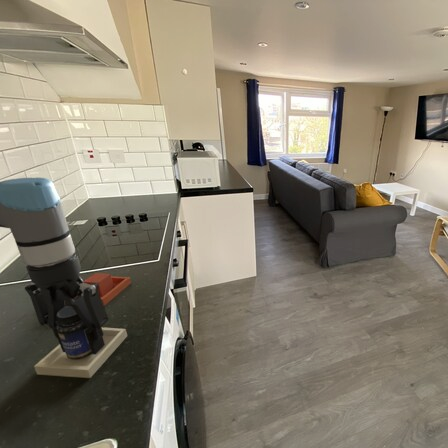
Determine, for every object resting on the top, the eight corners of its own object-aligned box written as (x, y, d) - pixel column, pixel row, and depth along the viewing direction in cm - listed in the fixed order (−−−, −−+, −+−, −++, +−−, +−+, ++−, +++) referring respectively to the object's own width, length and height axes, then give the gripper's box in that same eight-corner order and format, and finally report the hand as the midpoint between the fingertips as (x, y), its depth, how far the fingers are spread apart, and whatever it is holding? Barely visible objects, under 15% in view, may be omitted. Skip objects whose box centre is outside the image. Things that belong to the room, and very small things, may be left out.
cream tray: (37, 374, 55) (33, 366, 54) (82, 333, 66) (80, 326, 65) (90, 378, 54) (87, 370, 53) (127, 336, 65) (125, 328, 64)
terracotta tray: (66, 303, 76) (63, 297, 75) (97, 281, 87) (95, 275, 86) (104, 306, 75) (102, 299, 75) (130, 283, 86) (129, 277, 85)
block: (86, 296, 79) (81, 281, 77) (99, 286, 83) (95, 272, 81) (102, 296, 78) (98, 282, 77) (114, 287, 83) (110, 273, 81)
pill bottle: (59, 361, 56) (43, 320, 53) (80, 339, 62) (67, 301, 58) (89, 360, 57) (74, 320, 53) (107, 339, 62) (95, 301, 58)
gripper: (112, 251, 54) (135, 338, 62) (25, 247, 55) (59, 333, 63) (83, 270, 47) (113, 365, 55) (-17, 265, 48) (27, 359, 56)
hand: (84, 348), depth 59 cm, fingers closed on pill bottle, 6 cm apart
